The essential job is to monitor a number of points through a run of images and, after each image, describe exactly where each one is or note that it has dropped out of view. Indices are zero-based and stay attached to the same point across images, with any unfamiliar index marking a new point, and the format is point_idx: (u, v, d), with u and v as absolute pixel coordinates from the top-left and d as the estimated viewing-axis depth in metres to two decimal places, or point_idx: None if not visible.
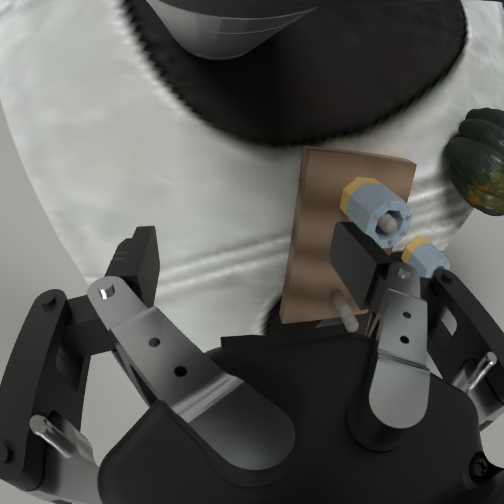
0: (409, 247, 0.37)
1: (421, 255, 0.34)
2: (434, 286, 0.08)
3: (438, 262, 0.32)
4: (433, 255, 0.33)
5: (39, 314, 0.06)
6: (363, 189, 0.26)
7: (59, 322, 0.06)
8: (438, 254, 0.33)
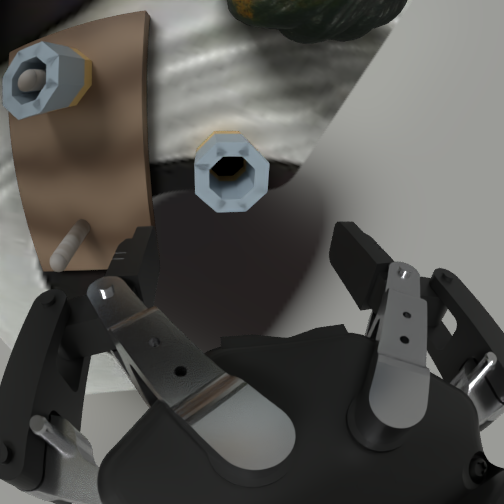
0: (199, 147, 0.23)
1: (203, 149, 0.20)
2: (434, 286, 0.08)
3: (218, 147, 0.18)
4: (217, 140, 0.19)
5: (39, 314, 0.06)
6: None
7: (59, 322, 0.06)
8: (234, 139, 0.19)
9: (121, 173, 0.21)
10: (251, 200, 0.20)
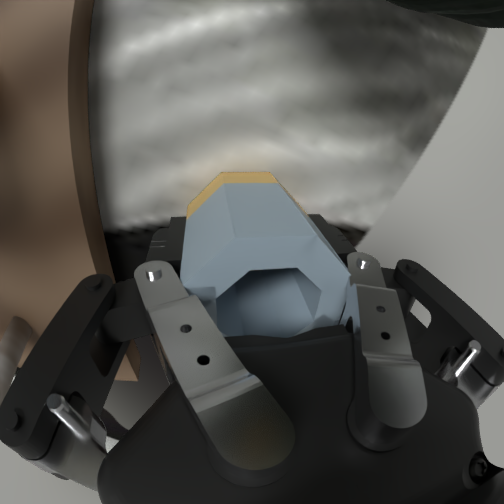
0: (192, 206, 0.12)
1: (198, 225, 0.10)
2: (400, 280, 0.09)
3: (239, 248, 0.07)
4: (234, 217, 0.08)
5: (82, 296, 0.07)
6: None
7: (100, 307, 0.07)
8: (274, 213, 0.08)
9: (54, 259, 0.11)
10: None
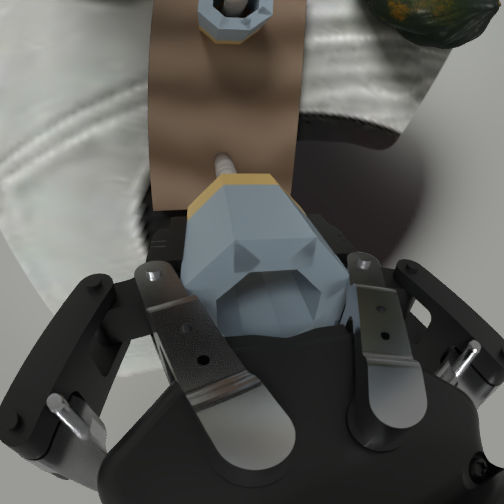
0: (192, 207, 0.12)
1: (199, 227, 0.10)
2: (400, 280, 0.09)
3: (239, 251, 0.07)
4: (234, 219, 0.08)
5: (82, 296, 0.07)
6: None
7: (100, 307, 0.07)
8: (274, 215, 0.08)
9: (276, 113, 0.24)
10: None
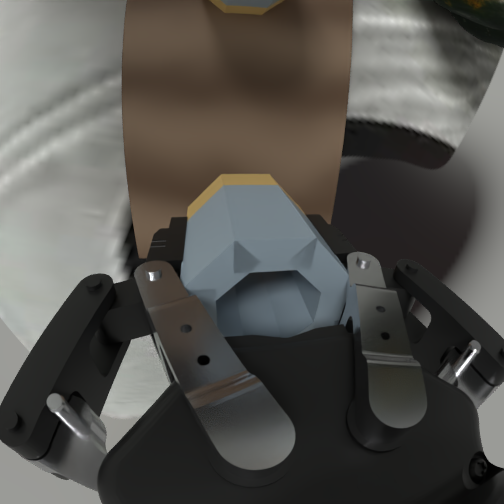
0: (192, 208, 0.12)
1: (199, 227, 0.10)
2: (400, 280, 0.09)
3: (239, 251, 0.07)
4: (233, 220, 0.08)
5: (82, 296, 0.07)
6: None
7: (100, 307, 0.07)
8: (274, 215, 0.08)
9: (315, 119, 0.16)
10: None
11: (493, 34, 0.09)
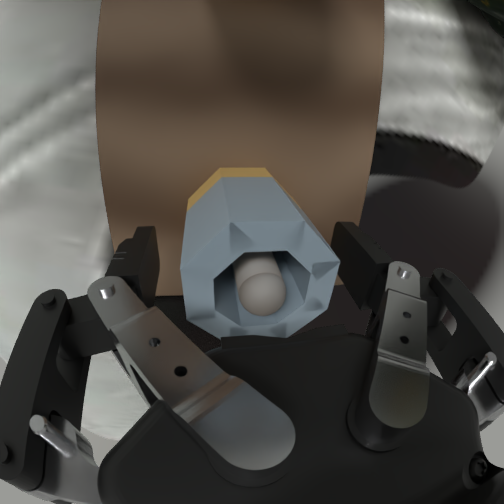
0: (192, 199, 0.13)
1: (198, 215, 0.10)
2: (434, 286, 0.08)
3: (234, 232, 0.08)
4: (230, 206, 0.09)
5: (39, 314, 0.06)
6: None
7: (59, 322, 0.06)
8: (267, 202, 0.09)
9: (340, 131, 0.13)
10: (296, 323, 0.10)
11: None
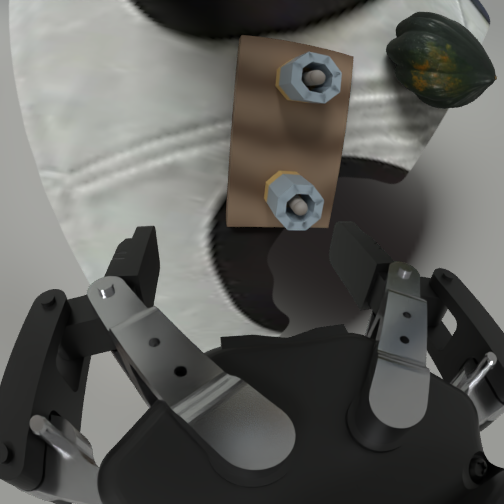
0: (269, 181, 0.33)
1: (277, 185, 0.31)
2: (434, 286, 0.08)
3: (294, 187, 0.28)
4: (291, 181, 0.29)
5: (39, 314, 0.06)
6: (292, 60, 0.24)
7: (59, 322, 0.06)
8: (301, 181, 0.29)
9: (326, 158, 0.33)
10: (310, 223, 0.31)
11: (432, 102, 0.27)
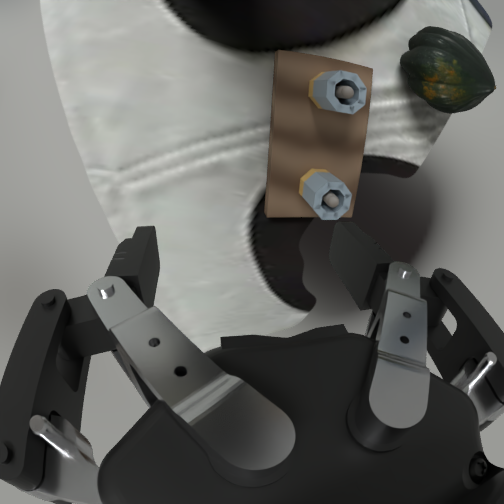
0: (303, 178, 0.38)
1: (312, 181, 0.35)
2: (434, 286, 0.08)
3: (328, 184, 0.33)
4: (324, 179, 0.34)
5: (39, 314, 0.06)
6: (323, 74, 0.29)
7: (59, 322, 0.06)
8: (333, 178, 0.34)
9: (350, 157, 0.38)
10: (340, 213, 0.35)
11: (440, 108, 0.31)
